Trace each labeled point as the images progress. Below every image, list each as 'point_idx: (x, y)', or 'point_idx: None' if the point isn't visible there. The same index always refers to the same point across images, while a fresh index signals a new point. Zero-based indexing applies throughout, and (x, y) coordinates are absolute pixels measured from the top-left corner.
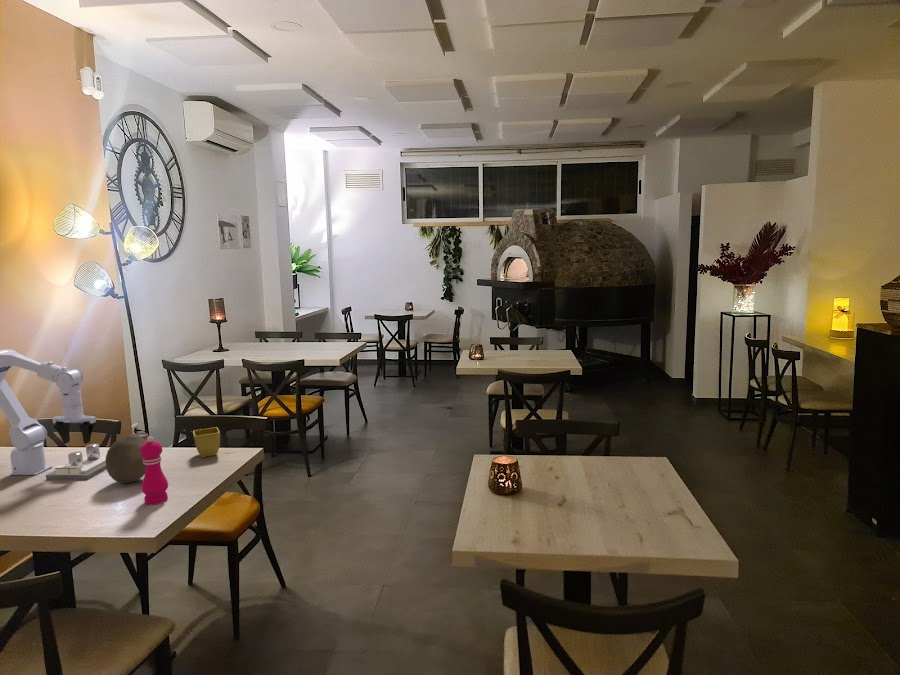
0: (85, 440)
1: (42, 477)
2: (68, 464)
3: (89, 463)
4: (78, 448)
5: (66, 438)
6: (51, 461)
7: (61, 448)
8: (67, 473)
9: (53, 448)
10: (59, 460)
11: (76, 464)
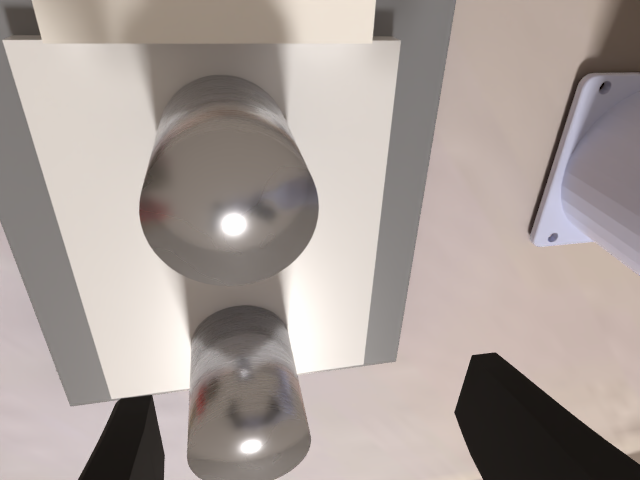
0: (95, 448)
1: (502, 23)
2: (373, 210)
3: None
4: None
5: (500, 437)
6: (577, 319)
7: None
8: None
9: (634, 445)
10: (537, 337)
11: (173, 106)
